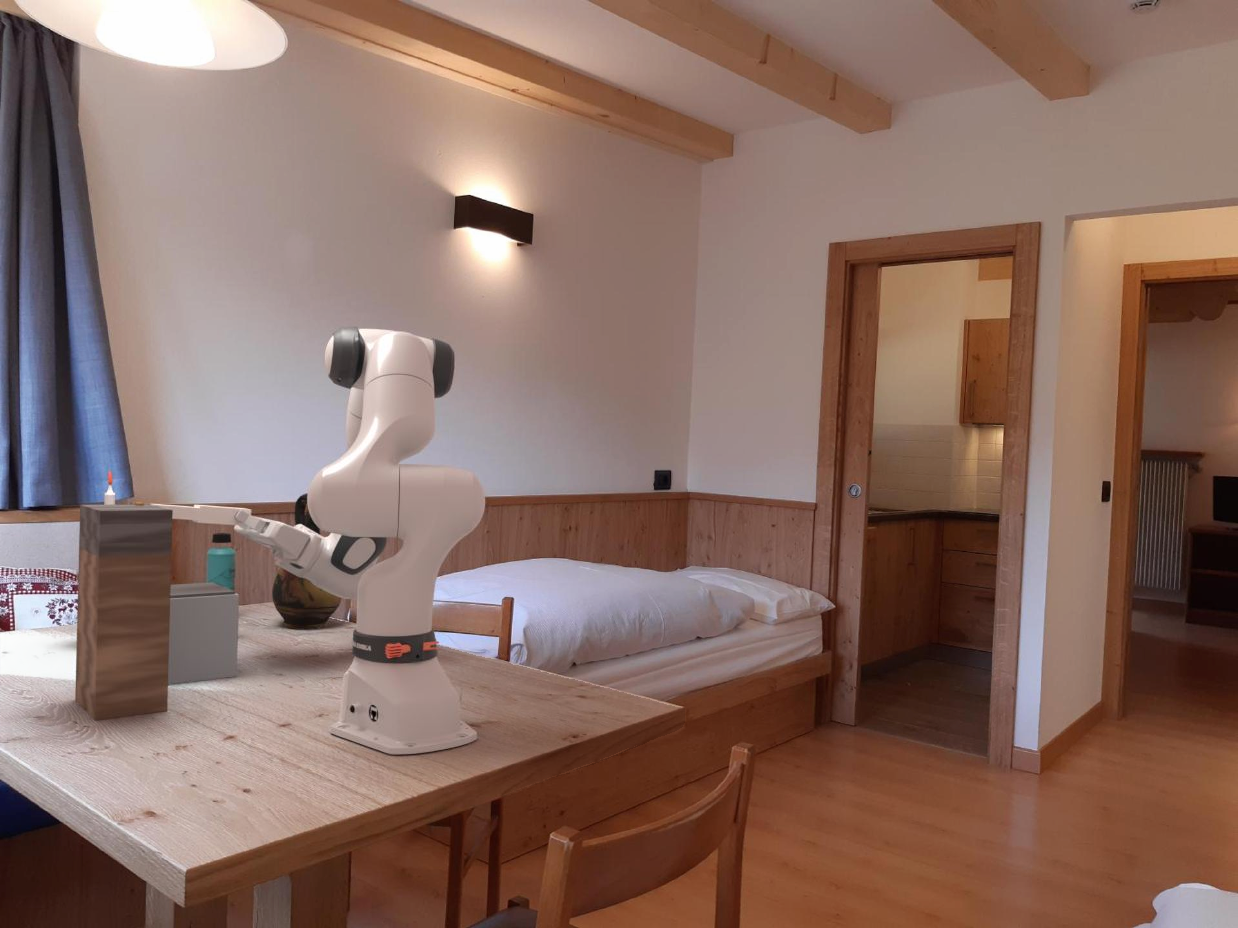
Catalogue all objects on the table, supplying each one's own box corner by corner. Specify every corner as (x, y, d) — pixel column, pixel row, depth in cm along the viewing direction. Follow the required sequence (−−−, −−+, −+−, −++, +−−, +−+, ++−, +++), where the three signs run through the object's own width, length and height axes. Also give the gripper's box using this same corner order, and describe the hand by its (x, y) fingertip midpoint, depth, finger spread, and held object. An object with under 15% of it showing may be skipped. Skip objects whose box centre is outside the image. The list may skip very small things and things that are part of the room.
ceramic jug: (355, 626, 226) (359, 495, 225) (293, 634, 214) (297, 496, 214) (315, 616, 237) (318, 491, 237) (254, 623, 226) (258, 492, 225)
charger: (249, 526, 181) (251, 509, 181) (153, 519, 170) (155, 502, 170) (242, 524, 183) (244, 508, 184) (148, 518, 173) (150, 501, 173)
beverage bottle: (202, 621, 225) (204, 534, 225) (206, 616, 232) (208, 531, 231) (232, 621, 227) (235, 534, 227) (235, 616, 233) (238, 531, 233)
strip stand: (167, 710, 152) (172, 507, 151) (94, 720, 145) (100, 508, 145) (143, 691, 162) (148, 501, 162) (75, 699, 156) (80, 502, 156)
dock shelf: (236, 676, 175) (239, 591, 175) (138, 687, 165) (141, 597, 165) (211, 661, 186) (214, 581, 186) (118, 671, 176) (120, 587, 175)
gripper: (284, 529, 197) (223, 494, 189) (325, 538, 181) (260, 501, 174) (267, 557, 195) (205, 523, 187) (307, 569, 179) (241, 532, 172)
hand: (232, 512), depth 180 cm, fingers closed on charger, 4 cm apart
